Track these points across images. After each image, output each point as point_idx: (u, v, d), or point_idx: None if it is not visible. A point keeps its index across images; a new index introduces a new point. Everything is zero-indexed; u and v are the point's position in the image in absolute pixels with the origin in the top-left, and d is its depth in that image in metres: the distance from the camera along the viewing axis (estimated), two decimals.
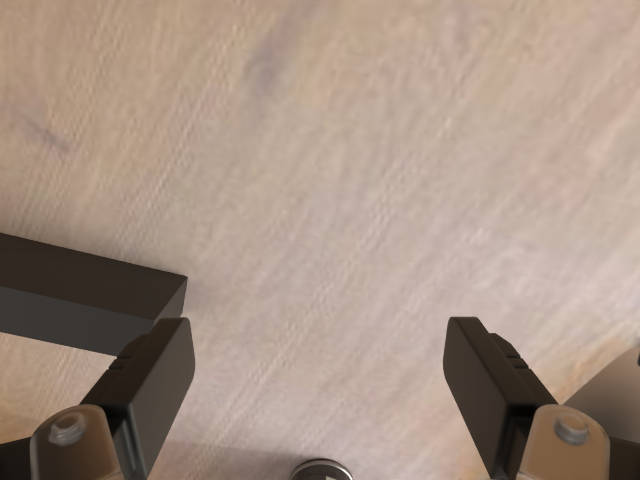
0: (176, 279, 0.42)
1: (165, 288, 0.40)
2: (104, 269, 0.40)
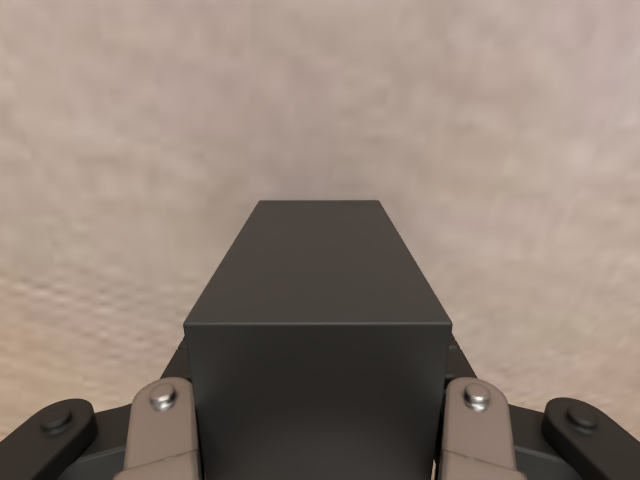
0: None
1: None
2: None
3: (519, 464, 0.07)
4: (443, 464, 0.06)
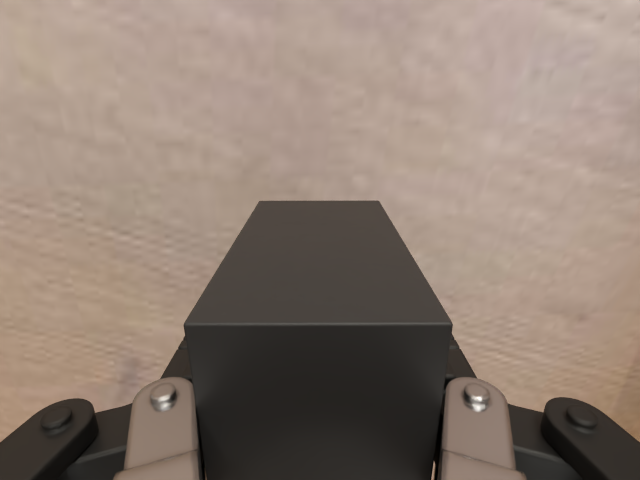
0: None
1: None
2: None
3: (518, 464, 0.07)
4: (443, 464, 0.06)
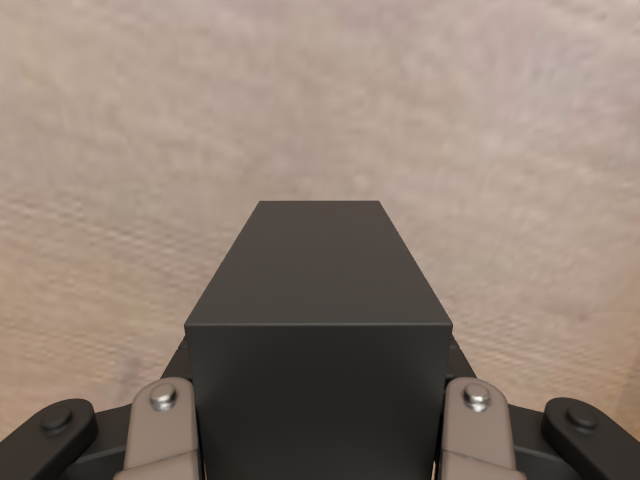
0: None
1: None
2: None
3: (519, 464, 0.07)
4: (443, 464, 0.06)
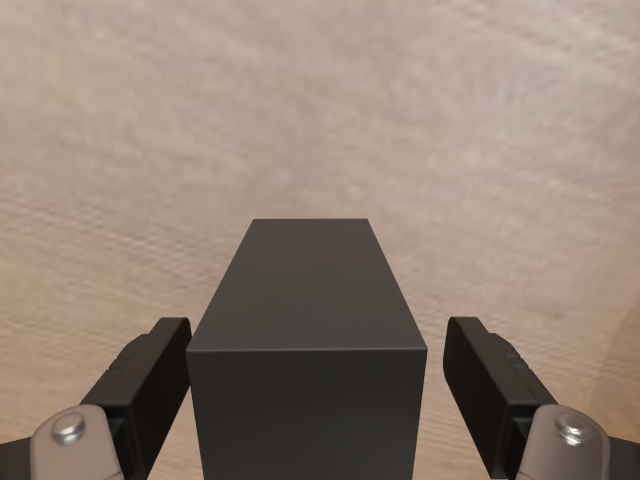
0: None
1: None
2: None
3: None
4: None
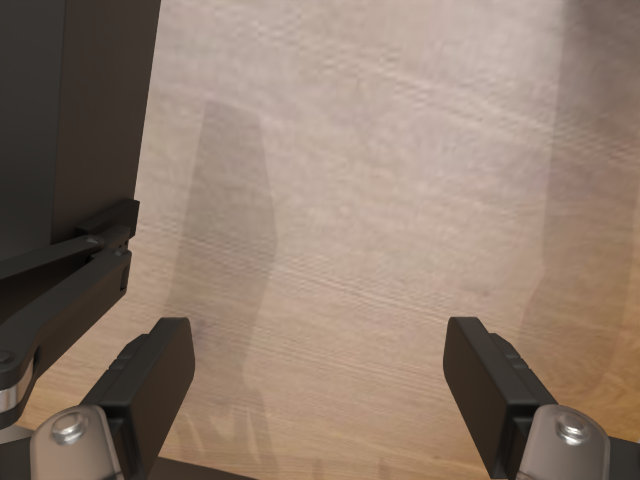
0: None
1: None
2: None
3: None
4: None
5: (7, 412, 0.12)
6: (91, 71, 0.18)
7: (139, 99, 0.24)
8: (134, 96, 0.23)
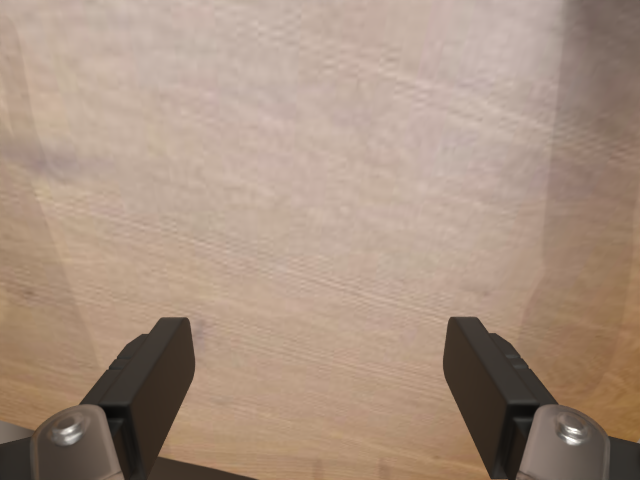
0: None
1: None
2: None
3: None
4: None
5: None
6: None
7: None
8: None
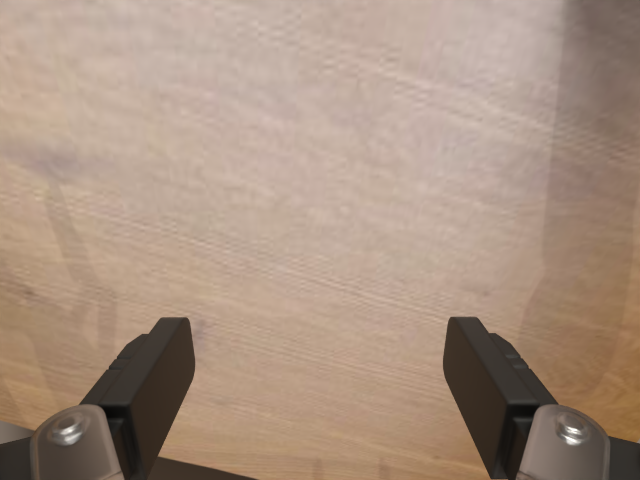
0: None
1: None
2: None
3: None
4: None
5: None
6: None
7: None
8: None
